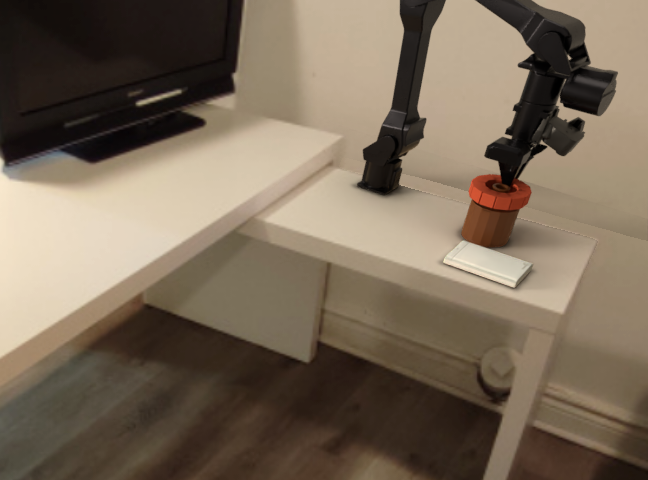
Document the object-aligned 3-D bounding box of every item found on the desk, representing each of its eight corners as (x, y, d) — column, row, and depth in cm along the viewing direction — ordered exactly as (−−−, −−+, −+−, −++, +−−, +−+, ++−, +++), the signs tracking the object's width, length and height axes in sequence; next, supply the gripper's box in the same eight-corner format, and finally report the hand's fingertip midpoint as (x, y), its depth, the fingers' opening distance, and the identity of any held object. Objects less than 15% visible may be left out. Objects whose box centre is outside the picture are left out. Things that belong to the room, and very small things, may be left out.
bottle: (453, 236, 147) (469, 186, 141) (472, 222, 152) (488, 173, 145) (496, 252, 143) (515, 201, 136) (514, 236, 147) (533, 186, 141)
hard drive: (534, 262, 137) (463, 238, 143) (517, 281, 132) (445, 255, 138) (530, 270, 138) (461, 246, 144) (513, 289, 133) (442, 263, 139)
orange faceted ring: (459, 197, 142) (462, 186, 141) (483, 180, 148) (487, 169, 146) (512, 215, 137) (517, 203, 135) (536, 197, 142) (540, 186, 141)
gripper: (567, 126, 124) (533, 217, 134) (607, 97, 135) (572, 183, 145) (497, 108, 130) (469, 196, 140) (541, 82, 141) (512, 165, 151)
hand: (508, 185), depth 144 cm, fingers closed on orange faceted ring, 2 cm apart
